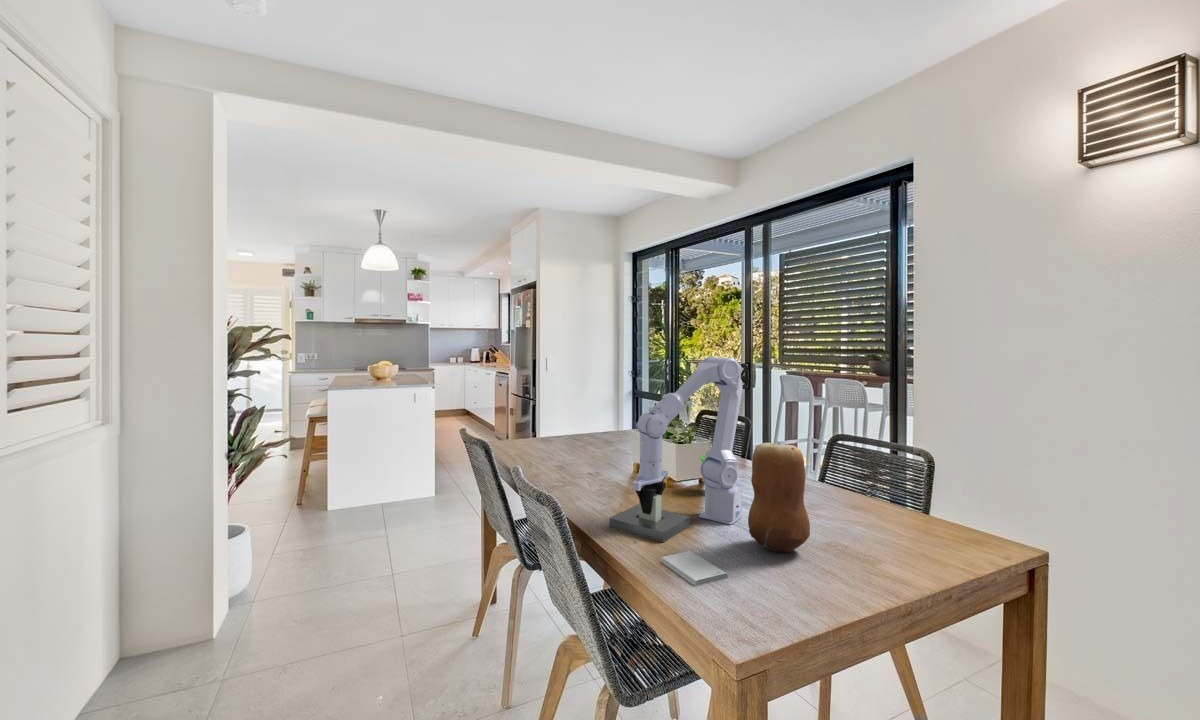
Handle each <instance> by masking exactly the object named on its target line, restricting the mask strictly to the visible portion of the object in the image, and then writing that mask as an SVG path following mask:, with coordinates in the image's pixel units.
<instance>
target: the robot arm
mask: <svg viewBox="0 0 1200 720" xmlns="http://www.w3.org/2000/svg"><path fill="white" fill-rule="evenodd" d="M742 370H743V368H742V366H741V365H740V364H739V363H738V361H737V360H736V359H734V358H733V357H716V356H707V357H706V358H704V359H703V361H701V362H700V363H698V365H697V367H696V369H695V370H694V371H693V372H692V374H690V376H689V377H687V379H686V380H685V381H684V382H683V383H682V384H681V386H680V387H679V388H678V389H677V390H676V391H675V392H668V393H666V394H665V393H664V394H663V395H662V396H661V400H659V401H658V403H656V404H655V405H654V406H653V407H651V408H649V411H648V412H646V413H645V412H644V413H642V414H641V415H640V416H639V418H638V421H637V422H636V423H635V427H636V429H637V431H638V432H639V473H637V474H636V475H635V478H636V479H635V480H634V481H632V482H631V483H632V484H631V490H633V491H635V493H636V494H637V497H638V501H639V500H640V504H641V508H642V512H643V513H645V514H651V510H652V502H653V497H654V494H658V495H662V496H663V492H664V491H665V489H666V487H667V483H666V482H664V481H663V480H668V471H666V470H662V469H663V436H664V435H665V434H666V432H667V430H668V426H669V424H670V423H672V421H673V420H674V419H675V418H676V417H677V416H678V415H679V414H680V413H681V412H682V411H684V409H685V402H686V401H687V400H688V399H689V398H691V397H692V396H693V395H695V393H696V392H698V391H699V390H700V389H701V388H702V387H703V386H705V385H706V384H711V383H713V384H714V385H715V386H716V387H717V388H718V390H719V392H720V399H719V403H718V410H717V415H716V416H717V417H716V421H715V427H714V434H713V438H712V444H711V448H710V449H709V450H707V451H706V452H705V455H704V456H705V459H704V461H703V462H702V461H701V464H700V469H699V471H700V474H701V477H703V481H704V511H703V512H702V513H700V514H699V515H698V517H699V518H702V519H705V520H711V521H715V522H718V523H723V524H727V525H733V524H734V523H736V522H737V521H739V520H740V519H741V518H743V514H742V490H741V489H739V488H738V487H734V485H735V484H736V483H737V482H738V477H739V472H738V460H737V458H736V456H735V454H734V453H733V448H734V442H735V437H736V430H737V425H738V418H739V413H740V407H741V402H742V395H743V383H742V377H741V376H742V375H741V374H742Z"/></svg>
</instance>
